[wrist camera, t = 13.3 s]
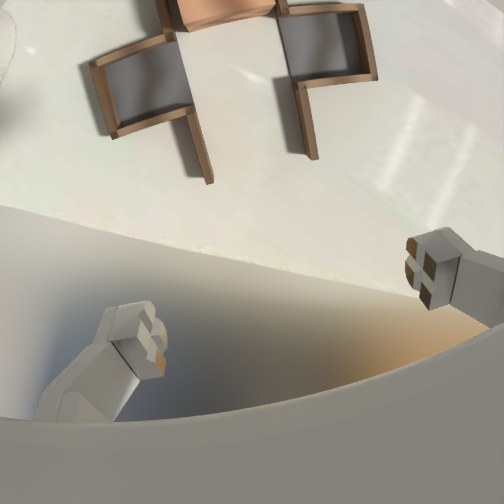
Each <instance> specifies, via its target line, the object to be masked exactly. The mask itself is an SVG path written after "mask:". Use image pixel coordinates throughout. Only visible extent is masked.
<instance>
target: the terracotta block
mask: <svg viewBox="0 0 504 504" xmlns="http://www.w3.org/2000/svg"><path fill="white" fill-rule="evenodd" d="M177 2H178V6H179V9H180V13H181V16H182V20H183V23H184V25H185V27H186V28H187V29H188V31H189V32H193V31H197V30H200V29H204V28H208V27H212V26H215V25H220V24H224V23H228V22H232V21H237V20H242V19H247V18H252V17H257V16H263V15H267V14H268V13H269V12H270V10H271V9H272V8H273V7H274V5H275V4H276V3H275V0H177Z"/></svg>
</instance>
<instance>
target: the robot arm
mask: <svg viewBox="0 0 504 504" xmlns="http://www.w3.org/2000/svg"><path fill="white" fill-rule="evenodd" d="M14 46H15V26H14V22H13V19H12V17H11V16H10V15H9V13H7V12H6V11H5V10H2V9H0V83H1V80H2V77H3V75H4V73H5V72H6V70H7V68H8V66H9V63H10V61H11V58H12V55H13V51H14ZM406 250H407V251H408V253H409V254H410V255H409V256H408V258H407V259H406V261H405V273H406V277H407V280H408V282H409V284H410V286H411V287H412V288H413V289H415V290H417V291H419V292H420V295H419V298H420V299H421V301H422V302H423V304H424V305H425V306H426V308H427V309H428V310H429V311H430V310H433V309H436V308H439V307H442V306H445V305H448V304H450V303H451V304H450V305H451V306H453V307H455V308H457V309H458V310H460V311H462V312H464V313H465V314H467V315H469V316H470V317H472V318H474V319H476V320H477V321H479V322H481V323H482V324H484V325H486V326H488V327H489V328H491V329H489V330H487V331H485V332H483V333H481V334H479V335H477V336H475V337H472V338H470V339H468V340H466V341H464V342H462V343H460V344H457V345H455V346H453V347H450V348H448V349H446V350H443V351H441V352H439V353H436V354H434V355H432V356H429V357H426V358H424V359H421V360H419V361H416V362H414V363H411V364H409V365H406V366H403V367H401V368H397V369H395V370H392V371H389V372H386V373H383V374H380V375H378V376H374V377H371V378H368V379H365V380H362V381H359V382H356V383H352V384H349V385H345V386H342V387H338V388H335V389H331V390H327V391H324V392H320V393H316V394H312V395H308V396H304V397H300V398H296V399H291V400H287V401H283V402H278V403H273V404H269V405H264V406H258V407H253V408H247V409H241V410H235V411H229V412H223V413H217V414H209V415H201V416H193V417H185V418H176V419H164V420H152V421H136V422H113V421H114V420H115V418H116V417H117V415H118V413H119V412H120V411H121V409H122V408H123V406H124V405H125V403H126V402H127V400H128V398H129V397H130V396H131V394H132V393H133V391H134V389H135V388H136V386H137V385H138V383H139V382H140V381H139V380H143V379H149V378H155V377H161V376H164V369H165V361H166V360H165V358H164V356H163V355H162V354H163V353H164V352H165V350H166V349H167V343H168V341H167V333H166V330H165V327H164V325H163V323H162V321H161V320H160V319H158V318H156V317H155V308H154V306H153V305H152V303H151V302H150V301H143V302H137V303H132V304H127V305H121V306H117V307H112V308H108V309H106V310H105V311H104V313H103V316H102V319H101V322H100V324H99V327H98V330H97V333H96V336H95V339H94V342H93V344H92V345H88V346H87V347H86V348H85V349H84V350H83V351H82V352H81V353H80V355H78V356H77V357H76V358H75V359H74V360H73V361H72V362H71V363H70V364H69V365H68V366H67V367H66V369H64V370H63V372H62V373H61V374H60V375H59V376H58V377H57V378H56V379H55V380H54V381H53V382H52V383H51V384H50V385H49V386H48V387H47V388H46V389H45V390H44V392H43V394H42V397H41V401H40V404H39V406H38V410H37V413H36V416H35V419H34V420H22V419H12V418H4V417H0V504H504V258H501V257H498V256H495V255H492V254H489V253H486V252H483V251H480V250H478V251H475V250H474V249H473V248H472V247H471V246H470V245H468V244H467V243H466V242H465V241H464V240H463V239H462V238H461V237H460V236H458V235H457V234H456V233H455V232H454V231H453V230H452V229H451V228H449V227H443V228H440V229H437V230H434V231H432V232H428V233H425V234H421V235H418V236H414V237H410V238H408V240H407V244H406Z"/></svg>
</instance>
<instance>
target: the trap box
mask: <svg viewBox="0 0 504 504" xmlns="http://www.w3.org/2000/svg"><path fill="white" fill-rule="evenodd" d="M155 1H156V5H157V9H158V13H159V17H160V20H161V24H162V28H163V32H164V34H162V35H159V36H156V37H153V38H150V39H147V40H144V41H141V42H139V43H136V44H133V45H130V46H128V47H125V48H123V49H120V50H118V51H115V52H113V53H110V54H108V55H106V56H103V57H101V58H99V59H97V60H94V61H92V62H90V63H89V66H90V69H91V73H92V77H93V80H94V84H95V87H96V91H97V94H98V97H99V101H100V104H101V107H102V110H103V114H104V117H105V120H106V123H107V126H108V129H109V132H110V135H111V138H112V140H114V139H117V138H119V137H122V136H125V135H127V134H130V133H133V132H136V131H139V130H142V129H144V128H147V127H150V126H153V125H156V124H160V123H163V122H166V121H169V120H172V119H176V118H179V117H182V116H186V117H187V120H188V124H189V127H190V131H191V134H192V138H193V141H194V145H195V148H196V152H197V155H198V159H199V162H200V165H201V169H202V172H203V176H204V179H205V182H206V185H208V184H212V183H214V174H213V170H212V167H211V163H210V160H209V156H208V153H207V149H206V145H205V142H204V138H203V135H202V131H201V127H200V124H199V120H198V116H197V113H196V109H195V105H194V102H193V98H192V94H191V91H190V87H189V83H188V80H187V76H186V72H185V68H184V65H183V61H182V57H181V53H180V50H179V46H178V42H177V38H176V34H175V31H174V27H173V23H172V19H171V15H170V11H169V7H168V4H167V0H155ZM275 3H276V4H275V5H274V6H275V10H276V14H277V18H278V22H279V26H280V30H281V34H282V38H283V43H284V47H285V51H286V56H287V60H288V65H289V69H290V74H291V79H292V83H293V88H294V93H295V98H296V103H297V108H298V114H299V119H300V124H301V130H302V135H303V141H304V147H305V152H306V155H307V156H308V157H309V158H310V159H311V160H317V159H319V157H318V150H317V144H316V138H315V132H314V126H313V120H312V114H311V109H310V103H309V98H308V93H307V89H308V88H315V87H322V86H329V85H338V84H346V83H356V82H367V81H378V74H377V68H376V62H375V56H374V50H373V45H372V40H371V35H370V30H369V25H368V21H367V16H366V12H365V8H364V4H323V5H308V6H297V7H288V4H287V0H275Z"/></svg>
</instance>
